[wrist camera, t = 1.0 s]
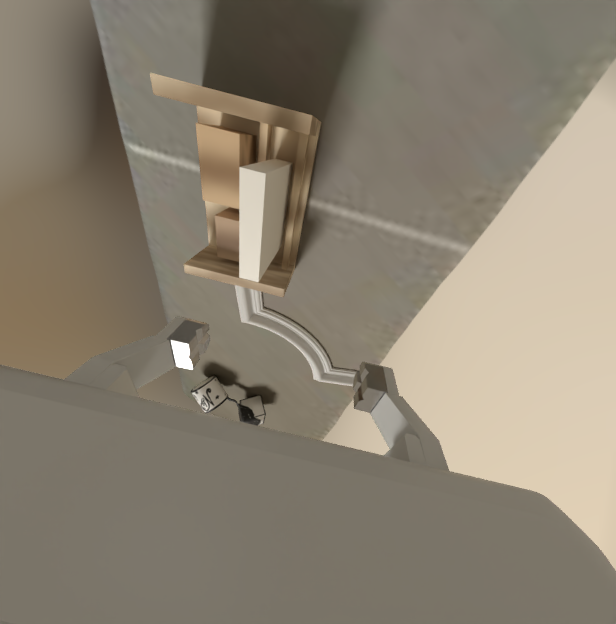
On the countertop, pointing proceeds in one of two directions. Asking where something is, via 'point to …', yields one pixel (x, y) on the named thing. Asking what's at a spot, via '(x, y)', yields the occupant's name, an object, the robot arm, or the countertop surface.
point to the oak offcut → (223, 161)
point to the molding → (291, 336)
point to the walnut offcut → (228, 234)
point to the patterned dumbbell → (214, 395)
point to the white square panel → (261, 214)
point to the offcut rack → (270, 145)
